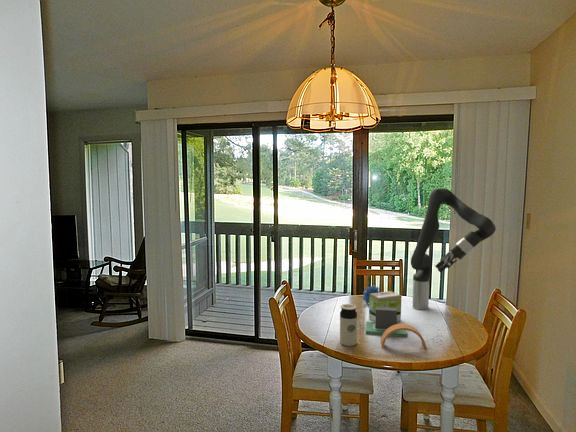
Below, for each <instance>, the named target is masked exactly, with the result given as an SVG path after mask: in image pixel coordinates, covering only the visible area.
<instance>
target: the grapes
mask: <svg viewBox="0 0 576 432" xmlns="http://www.w3.org/2000/svg"><path fill="white" fill-rule="evenodd" d="M379 289H380V288H379V287H378V286H376V285H374V284H372V285H371V286H367V287H366V290H364V291H363V293H362V294H363V297H362V300H363V301H364V302H365V304H368V305H369V297H370V294H372V293H380V292H381V291H379Z"/></svg>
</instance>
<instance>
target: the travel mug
mask: <svg viewBox="0 0 576 432" xmlns="http://www.w3.org/2000/svg"><path fill="white" fill-rule="evenodd" d="M340 308H341V311H340V312H339V313H340V314H339V343H340V344H341V345H343V346H346V347H352V346H355V345H357V344H358V343H357V342H358V338H357V337H358V312H357V310H356V309H357V306H356V305H355V304H351V303H345V304H342V305H340Z"/></svg>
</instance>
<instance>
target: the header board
mask: <svg viewBox="0 0 576 432" xmlns="http://www.w3.org/2000/svg"><path fill="white" fill-rule="evenodd" d="M365 324H366V325H365V335H375V336H376V335H377V336H382V335H383V333H384V332H385V331H386V330H387V329H376V327H375V322H374V321H366V322H365ZM391 336H392V337H403V338H408V331H407V330H398V331H395V332H393V333H392V334H390V335H389V336H388V337H391Z"/></svg>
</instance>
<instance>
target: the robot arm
mask: <svg viewBox="0 0 576 432" xmlns="http://www.w3.org/2000/svg"><path fill="white" fill-rule="evenodd" d="M441 205H447V206H449V207H451V208H452V209H453V210H454V211H455V212H456V213H457V215H458V216H459V217H460V218H461V219H462V220H464V221H465V222H466V223H468V224H470V225H473V226H474V227H476V228H477V230H475V231H473V230H472V231H470V232H468V233H467V234H466V235H464V236H463V237H462V238H461V239H459V240H458V241H457V242H456V243H455V244H453V245H452V246H451V247H450V248H449V251H450V252H447V253H446V254H445V255H443V256H442V257H441V258H440V260H439V262H438V263H437V264H436V265H435V266H434V267H435V268H436V269H437V271H438V272H439V273H442V272H444V271H445V270H446V269H449V268H451V267H452V266H453V265H454V264H455V263H456V262H457V261H458V260H462V259H464V257H466V256H467V255H468V254H469V253H470V252H471V251H472V250H473V249H474V248H476V247H477V246H478V244H480V243H481V242H483V241H485V240H486V239H488V238H491V236H492V235H494V234H495V232H496V225H495V224H494V222H493V220H492V219H490V218H489V217H487V216H485V215H483V214H481V213H479V212H478V211H476V210H475V209H473V208H472V207H470V206H469V205H467V204H466V203H464V202H463V201H462V200H461V199H460V198H459V197H457V196H456V195H455V194H454V193H453V192H452V191H451V190H450V189H448V188H445V187H443V188H439V187H438V188H434V189H432V190H431V192H430V194H429V197H428V203H427V209H426V213H425V216H424V220H423V223H422V226H421V229H420V233H419V236H418V240H417V243H416V246H415V248H414V250H413V253H412V256H411V258H410V265H411V268H412V269H413V270H415V271H416V273H414V274H413V276H412V280H413V281H412V308H413V309H416V310H419V311H420V310H422V311H423V310H428V309H429V302H430V301H429V300H430V277H431V275H432V259H431V256H430V255H429V254H428V253H427V252H428V249H429V248H430V247H431V245H432V244H433V243H434V241H435V240H436V238H437V237H438V233H439V230H440V221H439V212H440V211H439V210H440V207H441ZM457 259H458V260H457Z"/></svg>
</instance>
